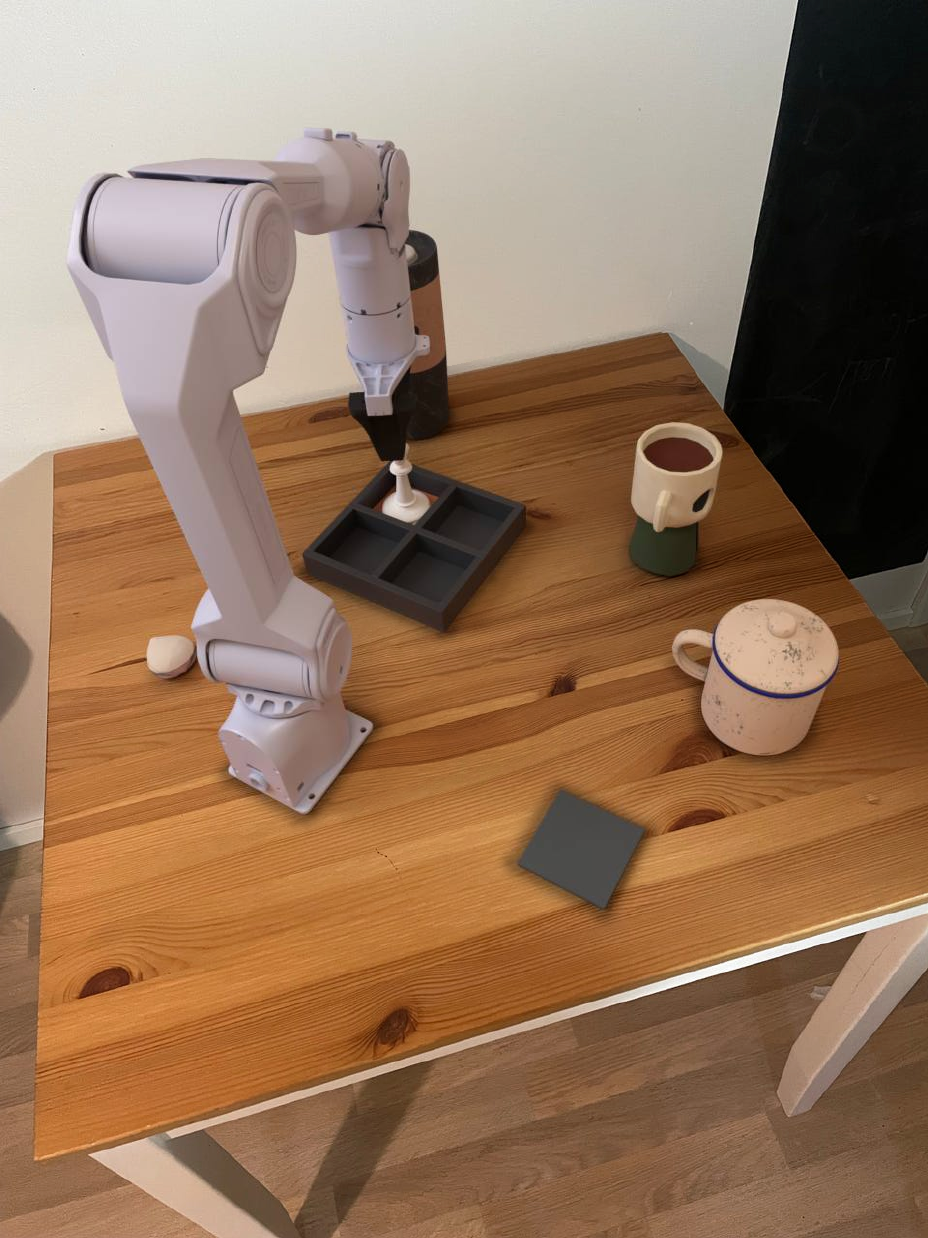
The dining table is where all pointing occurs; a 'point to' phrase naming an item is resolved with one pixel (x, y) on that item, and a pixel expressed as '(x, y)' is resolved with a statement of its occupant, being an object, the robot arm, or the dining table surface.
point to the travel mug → (428, 317)
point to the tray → (417, 546)
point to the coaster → (581, 849)
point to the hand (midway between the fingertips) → (394, 431)
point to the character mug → (672, 494)
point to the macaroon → (170, 655)
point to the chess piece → (405, 495)
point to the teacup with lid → (762, 674)
